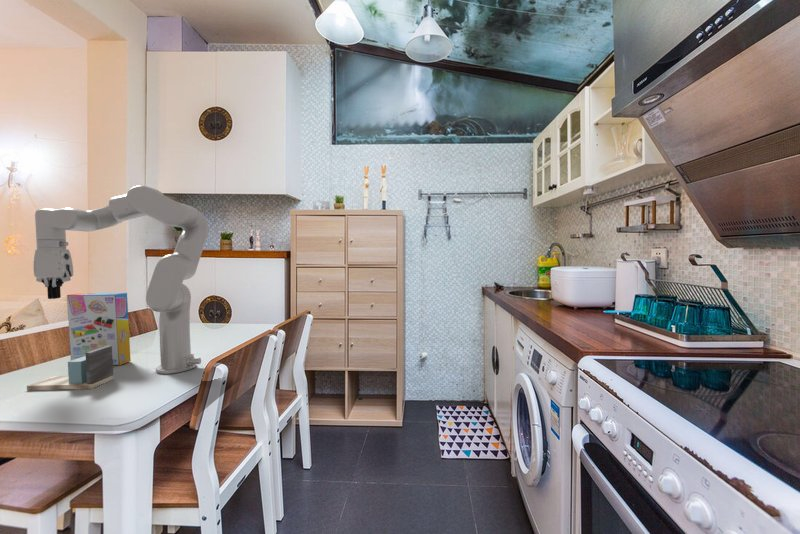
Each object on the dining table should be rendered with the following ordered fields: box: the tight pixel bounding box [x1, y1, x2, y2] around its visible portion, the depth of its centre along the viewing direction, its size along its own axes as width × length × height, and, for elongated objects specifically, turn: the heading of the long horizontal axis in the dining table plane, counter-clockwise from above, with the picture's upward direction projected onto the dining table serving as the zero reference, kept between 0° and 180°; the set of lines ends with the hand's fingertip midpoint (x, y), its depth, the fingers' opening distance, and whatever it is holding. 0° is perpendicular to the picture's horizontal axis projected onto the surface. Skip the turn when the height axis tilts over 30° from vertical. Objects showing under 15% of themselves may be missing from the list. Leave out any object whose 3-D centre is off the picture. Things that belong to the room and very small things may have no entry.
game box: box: [66, 292, 132, 366], centre depth 145 cm, size 21×6×27 cm, turn 84°
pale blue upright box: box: [67, 356, 87, 384], centre depth 122 cm, size 4×7×7 cm, turn 1°
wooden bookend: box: [26, 346, 114, 391], centre depth 122 cm, size 20×9×12 cm, turn 91°
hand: (54, 298), depth 131 cm, fingers closed
